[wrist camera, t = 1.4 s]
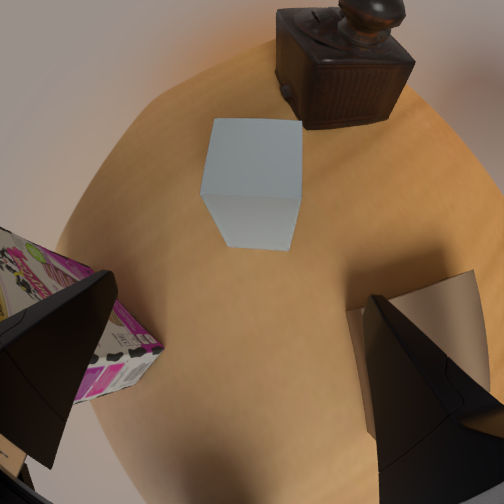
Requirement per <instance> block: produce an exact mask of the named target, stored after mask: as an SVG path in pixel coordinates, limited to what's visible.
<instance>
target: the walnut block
mask: <svg viewBox="0 0 504 504" xmlns="http://www.w3.org/2000/svg"><path fill="white" fill-rule="evenodd" d="M387 300H388V301H389V302H391V303H392V304H393V305H394V306H395V307H396V308H397V309H398V310H400V311H401V312H402V313H403V314H404V315H405V316H406V317H407V318H408V319H410V320H411V321H412V322H413V323H414V324H415V325H416V326H417V327H418V328H419V329H420V330H421V331H423V332H424V333H425V334H426V335H427V336H428V337H429V338H430V339H431V340H432V341H433V342H434V343H435V344H436V345H437V346H438V347H440V348H441V349H442V350H443V351H444V352H445V353H446V354H447V357H450V358H451V359H452V360H453V361H454V362H455V363H456V364H457V365H458V366H459V367H460V368H461V369H462V370H463V371H465V372H466V373H467V374H468V375H469V376H470V377H471V378H472V379H474V380H475V381H476V382H477V383H478V384H479V385H480V386H482V387H483V388H484V389H485V390H486V391H487V392H490V371H489V357H488V346H487V338H486V330H485V323H484V317H483V311H482V306H481V300H480V295H479V291H478V286H477V282H476V278H475V274H474V270H470V271H467V272H464V273H462V274H459V275H456V276H453V277H450V278H447V279H444V280H441V281H439V282H436V283H433V284H431V285H428V286H425V287H422V288H419V289H416V290H414V291H411V292H408V293H405V294H402V295H399V296H396V297H392V298H389V299H387ZM364 309H365V306H363V307H360V308H357V309H353V310H350V311H346V315H347V320H348V324H349V329H350V334H351V338H352V343H353V348H354V353H355V358H356V363H357V369H358V374H359V380H360V385H361V391H362V397H363V404H364V410H365V417H366V424H367V432H368V433H369V434H370V435H371V436H372V437H373V438H374V439H375V440H376V434H375V425H374V416H373V408H372V401H371V393H370V387H369V380H368V374H367V368H366V361H365V350H364V334H363V322H362V316H363V312H364Z"/></svg>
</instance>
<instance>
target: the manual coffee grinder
mask: <svg viewBox="0 0 504 504" xmlns="http://www.w3.org/2000/svg"><path fill="white" fill-rule="evenodd" d="M338 5H339V7H340V8H339V7H328V8H287V9H278V10H277V13H276V70H275V73H276V76H277V78H278V81H279V83H280V86H281V87H280V91H281V94H282V95H283V97H284V99H285V100H286V101H287V102H288V103H289V104H290V105H291V107H292V109H293V111H294V113H295V115H296V116H297V118H298V120H299V121H302V125H303V126H304V127H305V129H306V130H322V129H335V128H343V127H351V126H359V125H368V124H372V123H376V122H380V121H384V120H387V119H389V115H390V113H391V112H392V110H393V108H394V106H395V104H396V102H397V100H398V98H399V96H400V94H401V92H402V90H403V88H404V86H405V84H406V82H407V80H408V78H409V76H410V74H411V72H412V69H413V68H414V65H415V62H416V61H415V60H414V59H413V58H412V57H411V56H410V54H409V53H408V52H407V51H406V50H405V49H404V48H403V47H402V46H401V45H400V44H399V43H398V42H397V41H396V40H395V39H394V38H393V37H392V36H391V35H390V33H391V28H394V27H397V26H399V25H400V24H401V22H402V21H403V19H404V18H405V17H406V14H405V7H404V3H403V0H339V4H338Z"/></svg>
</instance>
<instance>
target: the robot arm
mask: <svg viewBox="0 0 504 504" xmlns="http://www.w3.org/2000/svg"><path fill="white" fill-rule="evenodd" d="M117 296H118V288H117V284H116V281H115V277H114V274H113V272H112V271H109V270H101V271H98V272H96V273H94V274H92V275H90V276H88V277H86V278H84V279H82V280H80V281H78V282H76V283H74V284H72V285H70V286H68V287H66V288H64V289H62V290H60V291H58V292H56V293H54V294H52V295H50V296H48V297H46V298H44V299H42V300H40V301H39V302H37V303H35V304H33V305H31V306H29V307H28V308H25V309H23V310H22V311H20V312H18V313H16V314H14V315H12V316H10V317H8V318H6V319H4V320H2V321H0V504H53V503H51V502H50V501H48V500H47V499H45V498H44V497H42V496H41V495H39V494H38V493H36V492H35V489H34V486H33V483H32V480H31V477H30V474H29V471H28V467H27V464H26V463H24V462H25V460H26V457H27V455H29V456H30V457H32V458H33V459H35V460H36V461H38V462H39V463H41V464H42V465H44V466H45V467H47V468H48V469H50V470H51V468H52V466H53V463H54V460H55V456H56V453H57V449H58V446H59V443H60V440H61V437H62V434H63V431H64V428H65V425H66V423H65V422H67V419H68V416H69V413H70V411H71V408H72V405H73V403H74V400H75V397H76V395H77V392H78V390H79V387H80V385H81V382H82V380H83V378H84V375H85V373H86V370H87V368H88V366H89V363H90V361H91V359H92V357H93V354H94V352H95V350H96V348H97V345H98V343H99V341H100V339H101V337H102V335H103V332H104V330H105V328H106V325H107V323H108V320H109V317H110V314H111V312H112V309H113V306H114V304H115V301H116V299H117ZM362 322H363V334H364V350H365V361H366V368H367V374H368V380H369V387H370V393H371V401H372V408H373V416H374V425H375V434H376V445H377V457H378V472H380V473H379V474H378V475H379V504H504V405H503V404H502V403H500V402H499V401H498V400H497V399H496V398H494V397H493V396H492V395H491V394H490V393H489V392H487V391H486V390H485V389H484V388H483V387H482V386H480V385H479V384H478V383H477V382H476V381H475V380H474V379H472V378H471V377H470V376H469V375H468V374H467V373H466V372H465V371H463V370H462V369H461V368H460V367H459V366H458V365H457V364H456V363H455V362H454V361H453V360H452V359H451V358H450V357H447V354H446V353H445V352H444V351H443V350H442V349H441V348H440V347H438V346H437V345H436V344H435V343H434V342H433V341H432V340H431V339H430V338H429V337H428V336H427V335H426V334H425V333H424V332H423V331H421V330H420V329H419V328H418V327H417V326H416V325H415V324H414V323H413V322H412V321H411V320H410V319H408V318H407V317H406V316H405V315H404V314H403V313H402V312H401V311H400V310H398V309H397V308H396V307H395V306H394V305H393V304H392V303H391V302H389V301H388V300H387V299H386V298H385V297H384V296H383V295H379V294H371V295H370V296H369V297H368V300H367V303H366V306H365V309H364V312H363V316H362Z"/></svg>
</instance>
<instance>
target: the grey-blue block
mask: <svg viewBox="0 0 504 504" xmlns="http://www.w3.org/2000/svg"><path fill="white" fill-rule="evenodd" d="M200 196H201V197H202V199H203V201H204V203H205V205H206V207H207V209H208V211H209V212H210V214H211V216H212V218H213V220H214V222H215V224H216V225H217V227H218V229H219V231H220V233H221V235H222V237H223V238H224V240H225V242H226V244H227V246H228V247H236V248H251V249H265V250H279V251H289V249H290V245H291V241H292V237H293V233H294V229H295V225H296V221H297V217H298V212H299V208H300V204H301V200H302V121H296V120H281V119H259V118H215V119H214V123H213V128H212V133H211V138H210V142H209V147H208V152H207V157H206V162H205V168H204V173H203V178H202V184H201V189H200Z"/></svg>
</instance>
